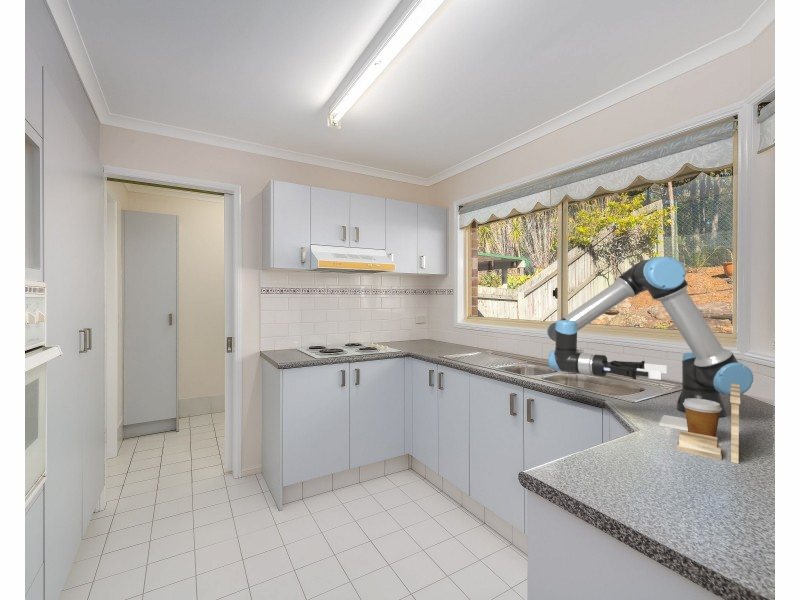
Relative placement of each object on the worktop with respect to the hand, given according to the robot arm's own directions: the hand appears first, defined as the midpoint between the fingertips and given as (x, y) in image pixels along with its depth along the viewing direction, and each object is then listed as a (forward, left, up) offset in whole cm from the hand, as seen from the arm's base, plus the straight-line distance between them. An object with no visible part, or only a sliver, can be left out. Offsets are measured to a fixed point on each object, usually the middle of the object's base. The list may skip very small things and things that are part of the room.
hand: (664, 372), depth 125 cm
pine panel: (-6, +17, -20) cm, 27 cm away
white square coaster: (-14, -4, -20) cm, 25 cm away
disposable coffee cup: (-5, +8, -20) cm, 22 cm away
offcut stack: (+6, +15, -20) cm, 26 cm away
